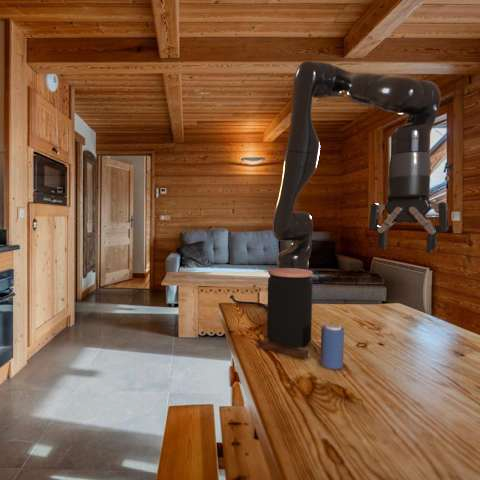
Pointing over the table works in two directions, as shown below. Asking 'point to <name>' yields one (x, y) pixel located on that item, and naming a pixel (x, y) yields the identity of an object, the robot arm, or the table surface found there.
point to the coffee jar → (289, 306)
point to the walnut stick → (283, 349)
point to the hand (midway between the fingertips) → (405, 251)
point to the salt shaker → (332, 346)
